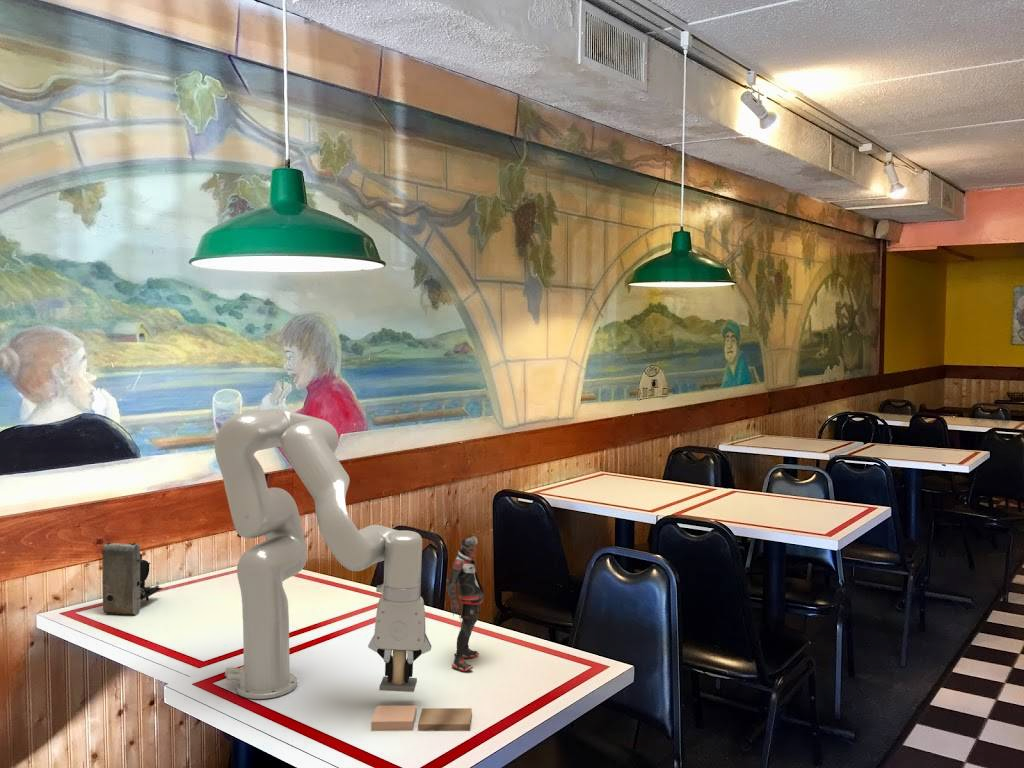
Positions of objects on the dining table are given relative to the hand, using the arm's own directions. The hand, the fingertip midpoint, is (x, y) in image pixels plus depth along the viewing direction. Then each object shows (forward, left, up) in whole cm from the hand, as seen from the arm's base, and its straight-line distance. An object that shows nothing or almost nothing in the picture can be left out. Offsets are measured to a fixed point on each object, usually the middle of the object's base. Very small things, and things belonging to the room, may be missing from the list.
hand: (398, 678), depth 172 cm
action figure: (+12, +23, -6) cm, 26 cm away
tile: (-4, -8, -5) cm, 10 cm away
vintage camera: (-84, +64, -6) cm, 105 cm away
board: (+10, -8, -5) cm, 14 cm away
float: (0, 0, -1) cm, 1 cm away
